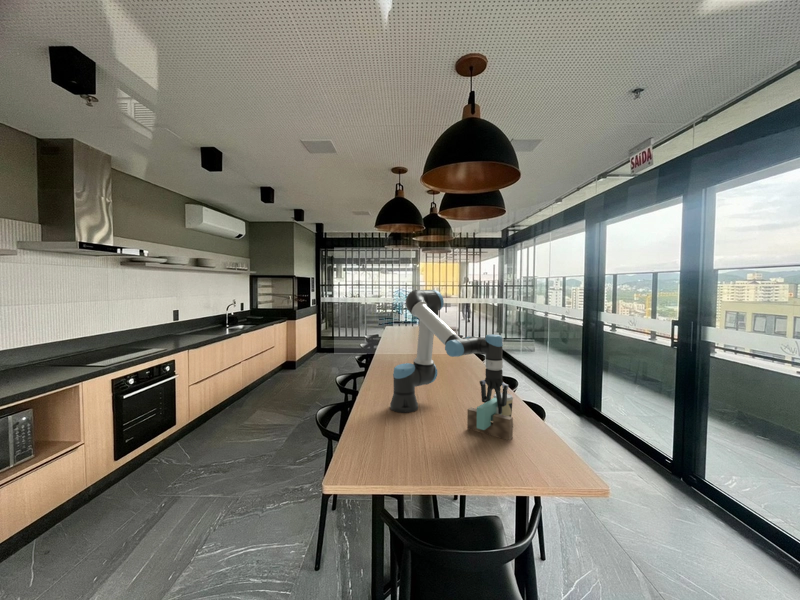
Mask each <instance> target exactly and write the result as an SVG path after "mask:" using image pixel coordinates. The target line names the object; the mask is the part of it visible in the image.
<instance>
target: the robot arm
mask: <svg viewBox="0 0 800 600" xmlns="http://www.w3.org/2000/svg"><path fill="white" fill-rule="evenodd" d="M444 300H445V299H444V296H443V295H442V293H441V292H440V291H439V290H437V289H414V290H412V291H410V292H409V293H408V294H407V296H406V299H405V307H406V309H407V310H408V312H409V313H410V314H411V315H412V316H413V317H416V318H418V320H419V323H418V337H417V350H416V357H415V358H414V359H413V362H412V363H411V362H410V363H409V362H406V363H399V364H397V365H395V367H394V368H393V373H392V375H393V395H392V397H391V401H390V407H389V408H390V410H391V411H394V412H396V413H403V414H404V413H407V414H408V413H412V412H413V413H414V412H416V411H417V410H418V409H419V403H418V400H417V396H416V391H415V390H416V387H420V386H426V385H429V384H432V383H433V382H434V381H436V379H437V377H438V368H437V366H436V364H435V360H433V347H434V336H436V338H437V339H438V340H439V341H440V342H441V343H442V344H443V345H444V350H445V352H446V354H447V356H449V357H452V358H455V357H457V358H458V357H462V356H466V355H467V356H468V355H472V354H473V355H474V354H481V355H485V373H484V374H485V378H484V379H482V380H480V381H479V384H480V391H481V392H480V395H481V402H482V403H483V404H484V403H485V402H487V401H489V400H491V399H492V394H493V390H494V392H495V393H496V397H497V404H498V406H497V407H496V414H502V407H504V406H505V405H506V403H507V393H508V390H509V387H510V385H509V384H507V383H505V382H504V380H503V349H504V348H503V347H504V344H503V336H502V335H501V334H492V333H491V334H486V335H485V337H479V336H478V337H477V336H473V335H472V336H470V335H469V336H466V337H465V338H461V337H460V336H459V335H458V334H457V333H456V332H454V330H453V329H451V328H450V326H449V325H447V324H446V322H444V320H442V319H441V318H440V317H439V311H440V310H442V308H443V307H444V303H445V302H444ZM486 386H487V387H486ZM501 388H502V391H501ZM501 393H502V398H501Z"/></svg>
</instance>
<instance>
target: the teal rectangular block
mask: <svg viewBox="0 0 800 600" xmlns="http://www.w3.org/2000/svg"><path fill="white" fill-rule="evenodd" d="M497 406H498V404H497V398H495V397H492V398H491V399H490V400H489V401H487V402H485V403H484V402H483V403H482V404H480V405H479V406H477V407H476V409H477V428H478V429H482V430H485V429H487V428H488V427H489V426H491V422H493V415H495V414H496V407H497Z"/></svg>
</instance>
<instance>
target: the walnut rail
mask: <svg viewBox="0 0 800 600" xmlns="http://www.w3.org/2000/svg"><path fill="white" fill-rule="evenodd" d="M466 413H467V414H466V415H467V417H466V418H467V419H466V420H467V424H466V425H467V427H466V429H467V430H471V431H474V432H478V433H481V434H485V435H489V436H491V437H494V438H498V439H499V438H500V439H503V440H504V441H511V440H512V439H513V437H514V436H513V434H514V433H513V432H514V431H513V430H514V429H513V428H514V427H513V425H514V423H513V422H514V421H513V420H514V417H512V416H511V417H509V416H505V415H501V414H495V415H493V421H491V426H489V427H488V428H487V429H485V430H482V429H478V428H477V407H469V408H467V412H466Z"/></svg>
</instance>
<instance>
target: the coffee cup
mask: <svg viewBox="0 0 800 600" xmlns="http://www.w3.org/2000/svg"><path fill="white" fill-rule="evenodd" d="M492 396H493V397H492V398H494V397H495V398H497V397H496V392H495V393H494V394H493V395H492ZM501 398H502V392H501ZM513 400H514V397H513V395H512V394H510V393H508V392H507V403H506V405H505V406H504V407H502V414H501V415H505V416H509V417H512V412H513Z"/></svg>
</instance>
